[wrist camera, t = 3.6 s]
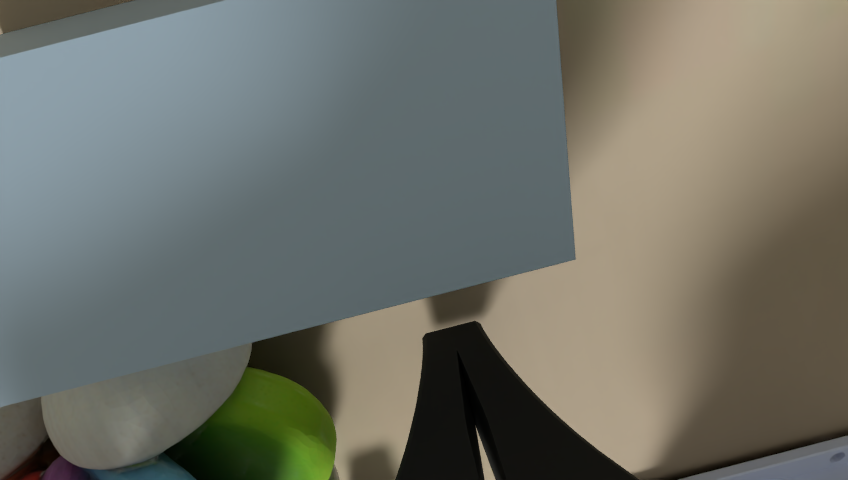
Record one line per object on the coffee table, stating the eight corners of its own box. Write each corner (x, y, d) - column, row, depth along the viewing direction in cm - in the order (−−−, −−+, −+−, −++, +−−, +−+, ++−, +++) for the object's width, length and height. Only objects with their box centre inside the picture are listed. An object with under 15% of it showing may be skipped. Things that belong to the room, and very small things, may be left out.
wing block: (453, -82, 9) (550, -83, 5) (487, 132, 11) (576, 259, 7) (6, 32, 9) (-277, 128, 5) (123, 225, 11) (-7, 408, 7)
